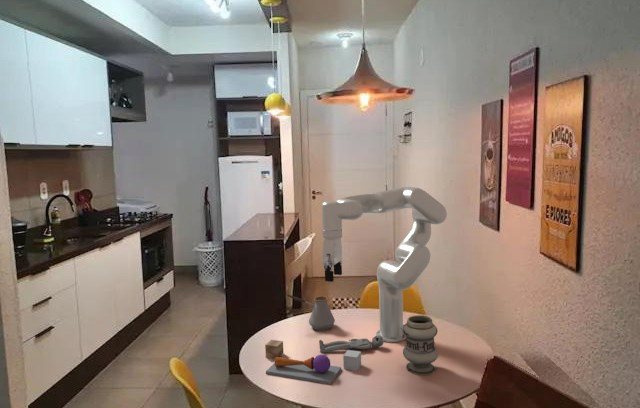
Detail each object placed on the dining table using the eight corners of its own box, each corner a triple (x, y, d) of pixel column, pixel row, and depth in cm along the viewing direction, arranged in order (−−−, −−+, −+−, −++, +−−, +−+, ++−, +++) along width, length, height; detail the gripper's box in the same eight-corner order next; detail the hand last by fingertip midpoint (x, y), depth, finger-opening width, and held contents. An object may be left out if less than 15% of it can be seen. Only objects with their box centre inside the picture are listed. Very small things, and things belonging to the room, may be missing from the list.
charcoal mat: (341, 369, 164) (341, 367, 164) (330, 384, 154) (330, 381, 153) (280, 360, 173) (279, 358, 172) (265, 373, 162) (265, 371, 162)
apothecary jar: (395, 367, 164) (395, 318, 162) (418, 357, 171) (418, 310, 169) (422, 380, 155) (422, 327, 153) (445, 369, 162) (445, 319, 160)
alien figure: (318, 336, 184) (381, 331, 185) (319, 348, 185) (382, 343, 186) (319, 345, 176) (385, 339, 177) (320, 357, 177) (385, 351, 178)
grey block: (361, 365, 167) (361, 351, 167) (357, 371, 163) (356, 357, 162) (348, 363, 169) (347, 349, 169) (343, 369, 164) (343, 355, 164)
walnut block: (283, 353, 179) (283, 341, 178) (277, 359, 174) (277, 346, 174) (271, 352, 180) (271, 339, 180) (265, 357, 176) (265, 344, 175)
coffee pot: (335, 322, 210) (334, 289, 209) (334, 331, 199) (333, 297, 197) (288, 322, 211) (287, 290, 210) (285, 332, 200) (283, 298, 198)
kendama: (279, 351, 169) (332, 353, 162) (280, 368, 168) (332, 370, 162) (272, 355, 163) (326, 357, 157) (273, 372, 163) (327, 375, 156)
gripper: (330, 229, 186) (332, 271, 188) (314, 237, 170) (316, 283, 172) (348, 230, 184) (349, 272, 185) (334, 238, 168) (335, 284, 169)
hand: (333, 277), depth 179 cm, fingers open, 9 cm apart
